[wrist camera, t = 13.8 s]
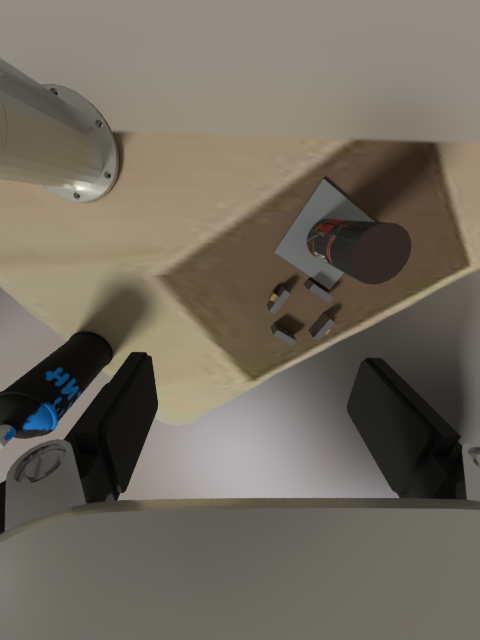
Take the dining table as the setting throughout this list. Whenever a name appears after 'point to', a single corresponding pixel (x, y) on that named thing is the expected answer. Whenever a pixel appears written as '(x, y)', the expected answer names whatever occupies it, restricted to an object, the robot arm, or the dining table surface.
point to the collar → (317, 328)
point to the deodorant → (361, 248)
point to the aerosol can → (51, 387)
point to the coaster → (317, 208)
